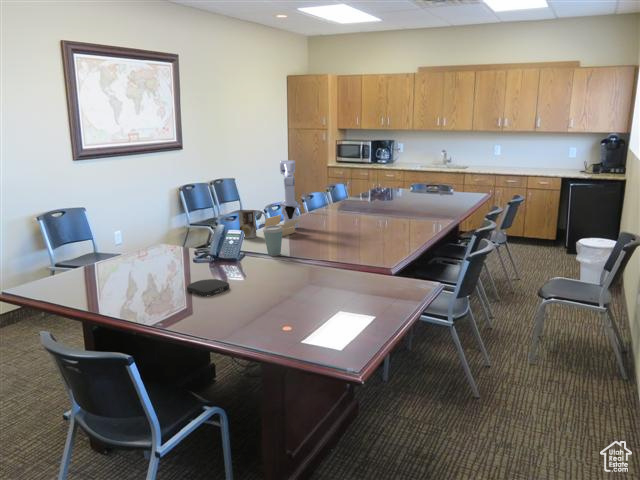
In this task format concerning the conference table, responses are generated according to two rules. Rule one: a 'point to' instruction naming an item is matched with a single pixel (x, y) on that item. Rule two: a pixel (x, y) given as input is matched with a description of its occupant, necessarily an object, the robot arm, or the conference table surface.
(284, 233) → the carton
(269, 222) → the flap
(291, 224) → the flap
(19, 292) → the conference table surface
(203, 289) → the media streaming box
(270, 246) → the disposable coffee cup
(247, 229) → the coffee box
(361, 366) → the conference table surface
